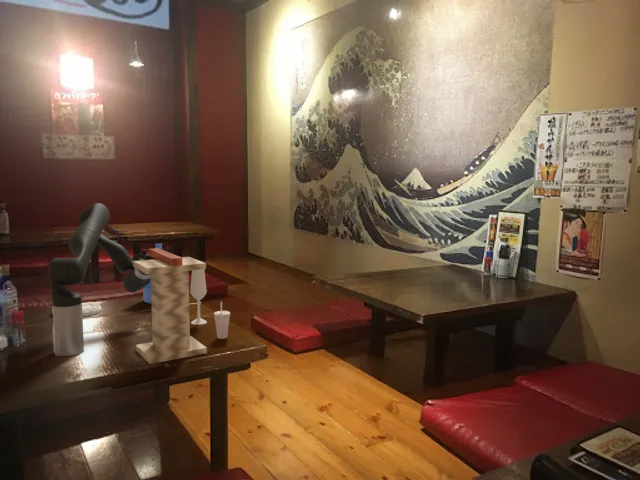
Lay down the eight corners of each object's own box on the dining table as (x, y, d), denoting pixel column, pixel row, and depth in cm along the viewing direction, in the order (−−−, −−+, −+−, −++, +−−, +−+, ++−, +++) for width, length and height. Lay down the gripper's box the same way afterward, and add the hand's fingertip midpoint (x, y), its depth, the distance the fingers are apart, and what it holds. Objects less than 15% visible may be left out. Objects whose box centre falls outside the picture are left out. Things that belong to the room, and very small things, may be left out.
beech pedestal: (149, 364, 175) (146, 268, 171) (136, 350, 188) (133, 261, 184) (206, 353, 186) (205, 263, 182) (190, 341, 199) (189, 256, 195)
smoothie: (210, 338, 202) (210, 302, 200) (219, 334, 208) (219, 299, 206) (225, 340, 200) (225, 304, 198) (233, 335, 206) (233, 300, 204)
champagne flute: (210, 321, 225) (209, 265, 222) (200, 325, 219) (199, 268, 216) (197, 319, 228) (196, 264, 225) (187, 323, 222) (186, 266, 219)
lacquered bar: (172, 266, 175) (172, 258, 175) (148, 255, 197) (148, 248, 196) (182, 265, 177) (182, 257, 177) (158, 254, 199) (158, 248, 198)
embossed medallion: (103, 306, 249) (103, 300, 249) (99, 317, 230) (99, 310, 230) (56, 309, 243) (56, 302, 243) (48, 320, 224) (48, 313, 224)
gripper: (125, 259, 203) (135, 242, 191) (162, 256, 211) (174, 240, 199) (129, 277, 201) (139, 261, 189) (166, 274, 209) (178, 258, 196)
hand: (157, 250), depth 194 cm, fingers open, 8 cm apart
